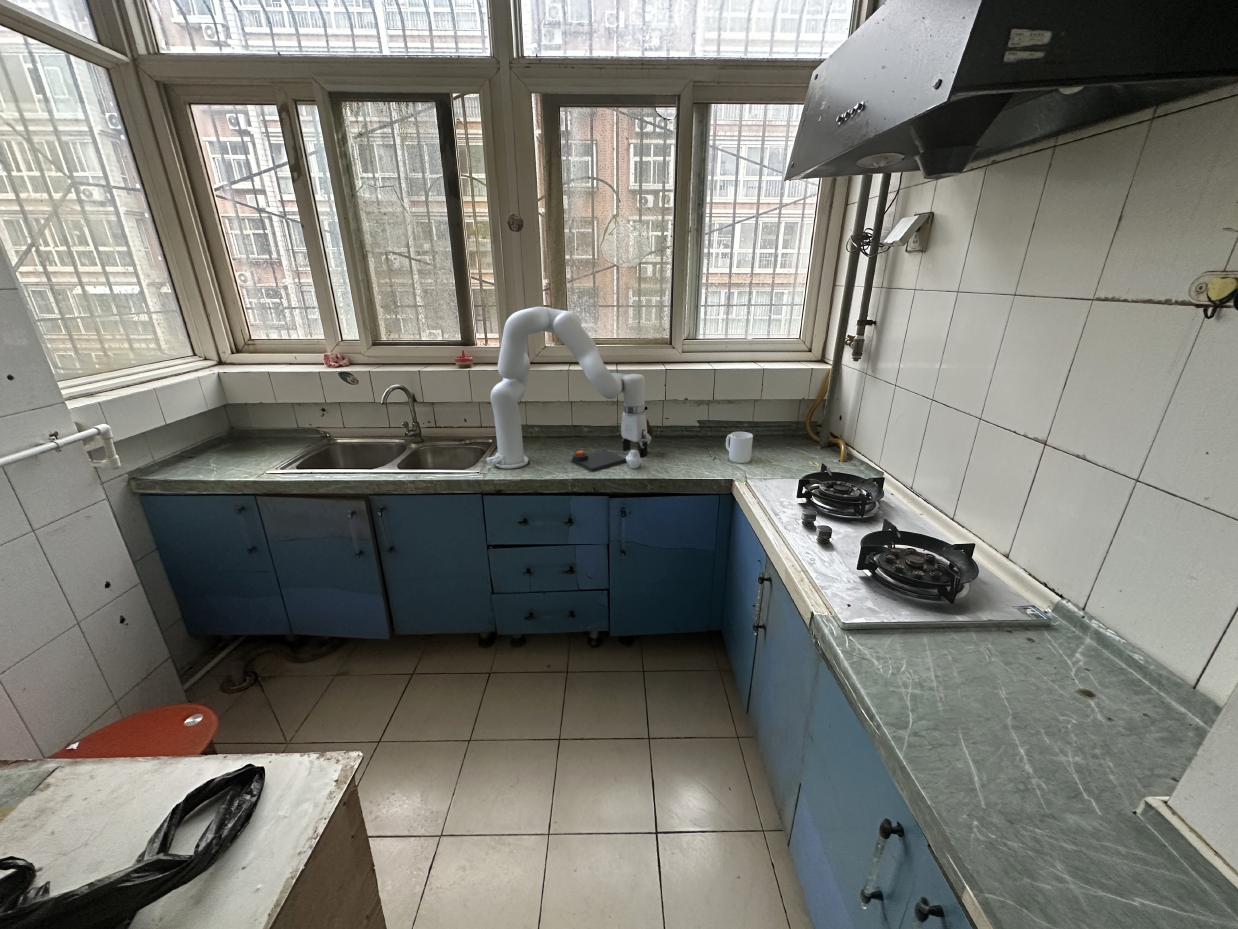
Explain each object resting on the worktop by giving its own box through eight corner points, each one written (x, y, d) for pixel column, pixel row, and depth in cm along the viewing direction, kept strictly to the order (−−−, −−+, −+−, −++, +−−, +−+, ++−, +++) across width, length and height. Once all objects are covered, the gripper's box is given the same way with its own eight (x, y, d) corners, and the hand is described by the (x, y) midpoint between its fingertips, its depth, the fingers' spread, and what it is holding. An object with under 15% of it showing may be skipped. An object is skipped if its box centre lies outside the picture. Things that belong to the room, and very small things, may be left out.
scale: (591, 472, 183) (591, 464, 182) (570, 461, 193) (570, 454, 192) (626, 462, 192) (626, 454, 191) (604, 452, 203) (604, 445, 202)
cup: (739, 465, 188) (742, 439, 184) (717, 456, 197) (719, 431, 194) (755, 460, 192) (757, 435, 189) (732, 452, 202) (734, 428, 198)
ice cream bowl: (653, 448, 207) (653, 413, 201) (652, 457, 196) (652, 421, 191) (627, 447, 208) (627, 413, 202) (625, 457, 197) (625, 420, 192)
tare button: (579, 457, 190) (579, 453, 190) (575, 455, 192) (575, 451, 192) (585, 455, 192) (585, 451, 191) (581, 453, 194) (581, 449, 193)
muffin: (630, 471, 183) (630, 453, 181) (622, 466, 188) (622, 448, 186) (645, 468, 186) (645, 450, 183) (637, 463, 191) (637, 445, 188)
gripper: (611, 406, 183) (612, 450, 189) (641, 415, 170) (642, 462, 177) (627, 403, 188) (628, 446, 194) (658, 411, 175) (658, 457, 181)
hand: (634, 453), depth 185 cm, fingers open, 9 cm apart
